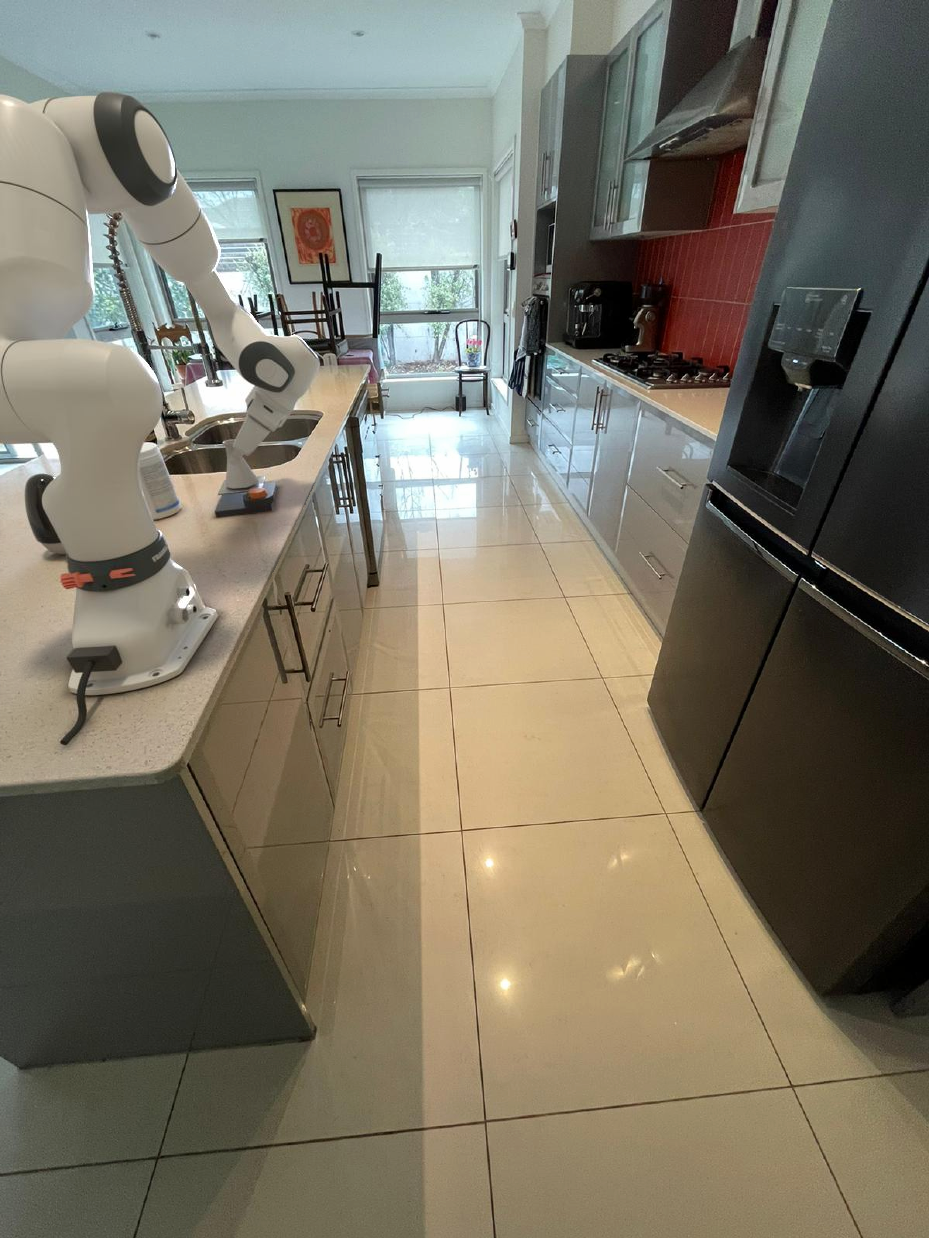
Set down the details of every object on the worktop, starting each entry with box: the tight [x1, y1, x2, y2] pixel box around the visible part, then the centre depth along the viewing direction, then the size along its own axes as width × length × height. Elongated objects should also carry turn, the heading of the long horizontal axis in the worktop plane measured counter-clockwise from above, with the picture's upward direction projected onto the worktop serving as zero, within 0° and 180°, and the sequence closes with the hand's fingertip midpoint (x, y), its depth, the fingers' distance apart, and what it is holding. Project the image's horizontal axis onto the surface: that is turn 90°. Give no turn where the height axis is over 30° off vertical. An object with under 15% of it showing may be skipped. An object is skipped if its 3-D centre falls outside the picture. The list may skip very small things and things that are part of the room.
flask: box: [222, 438, 258, 489], centre depth 119 cm, size 7×7×10 cm
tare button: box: [248, 488, 267, 499], centre depth 116 cm, size 4×4×2 cm
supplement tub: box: [139, 441, 182, 521], centre depth 113 cm, size 10×10×15 cm
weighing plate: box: [217, 475, 266, 496], centre depth 122 cm, size 10×10×1 cm
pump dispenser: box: [24, 473, 67, 555], centre depth 99 cm, size 10×10×15 cm
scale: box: [214, 481, 278, 518], centre depth 121 cm, size 16×13×3 cm
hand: (234, 456), depth 118 cm, fingers open, 8 cm apart
